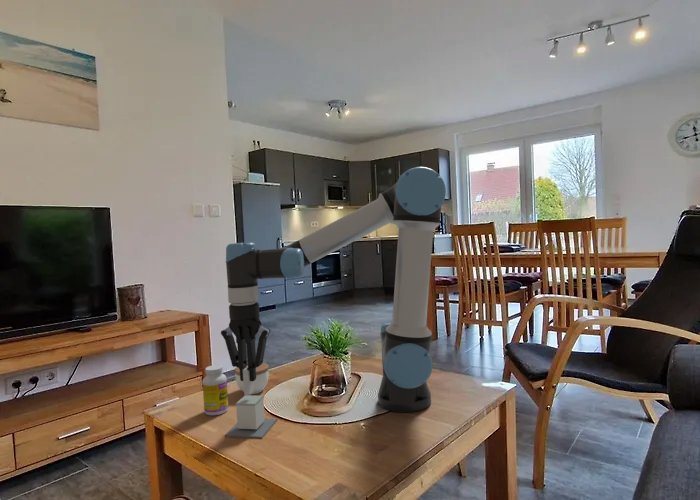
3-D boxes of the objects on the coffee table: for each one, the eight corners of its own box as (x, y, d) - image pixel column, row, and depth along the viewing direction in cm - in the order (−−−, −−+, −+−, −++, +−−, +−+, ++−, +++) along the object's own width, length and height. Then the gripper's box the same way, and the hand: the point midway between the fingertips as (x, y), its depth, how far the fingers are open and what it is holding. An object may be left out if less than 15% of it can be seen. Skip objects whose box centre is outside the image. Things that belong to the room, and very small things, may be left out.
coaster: (277, 420, 116) (277, 418, 116) (262, 438, 106) (262, 436, 106) (242, 418, 118) (242, 417, 118) (225, 436, 108) (224, 434, 108)
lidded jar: (276, 389, 139) (275, 360, 139) (249, 400, 131) (247, 369, 131) (256, 382, 146) (255, 355, 146) (229, 392, 138) (227, 363, 138)
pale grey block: (264, 420, 114) (263, 395, 114) (256, 429, 109) (255, 403, 109) (246, 419, 115) (245, 395, 115) (237, 428, 110) (236, 403, 110)
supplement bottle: (221, 416, 120) (218, 371, 119) (200, 416, 121) (196, 371, 121) (232, 407, 127) (229, 364, 126) (212, 406, 128) (209, 363, 127)
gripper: (273, 300, 113) (278, 388, 114) (227, 300, 115) (232, 386, 117) (261, 305, 105) (267, 399, 107) (213, 305, 108) (218, 397, 109)
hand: (249, 392), depth 112 cm, fingers closed
